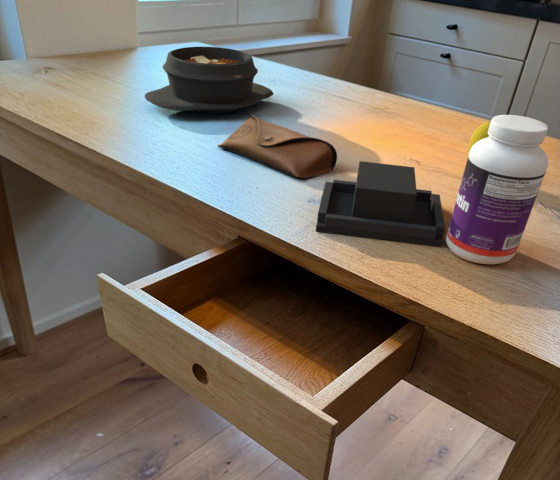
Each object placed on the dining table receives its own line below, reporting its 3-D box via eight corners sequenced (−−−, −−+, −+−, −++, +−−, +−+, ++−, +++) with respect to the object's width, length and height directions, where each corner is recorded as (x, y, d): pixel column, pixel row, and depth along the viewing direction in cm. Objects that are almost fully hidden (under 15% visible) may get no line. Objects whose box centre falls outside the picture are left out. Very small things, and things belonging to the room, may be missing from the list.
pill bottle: (446, 231, 70) (479, 106, 60) (513, 243, 68) (557, 117, 59) (441, 260, 64) (477, 127, 54) (514, 274, 62) (564, 140, 53)
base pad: (435, 206, 75) (439, 191, 74) (441, 247, 66) (446, 231, 65) (324, 193, 77) (326, 178, 75) (315, 231, 67) (317, 215, 66)
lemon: (497, 184, 83) (515, 127, 78) (459, 177, 84) (474, 121, 79) (499, 172, 87) (516, 117, 82) (463, 165, 88) (477, 111, 83)
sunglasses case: (212, 144, 87) (228, 101, 85) (239, 159, 93) (255, 119, 91) (301, 179, 78) (320, 132, 77) (324, 193, 84) (343, 149, 83)
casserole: (182, 129, 93) (179, 73, 88) (126, 101, 104) (120, 50, 98) (294, 109, 107) (297, 59, 101) (234, 86, 117) (235, 39, 112)
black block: (407, 201, 74) (414, 167, 71) (408, 231, 67) (417, 194, 64) (354, 194, 75) (359, 160, 72) (350, 223, 68) (356, 187, 65)
